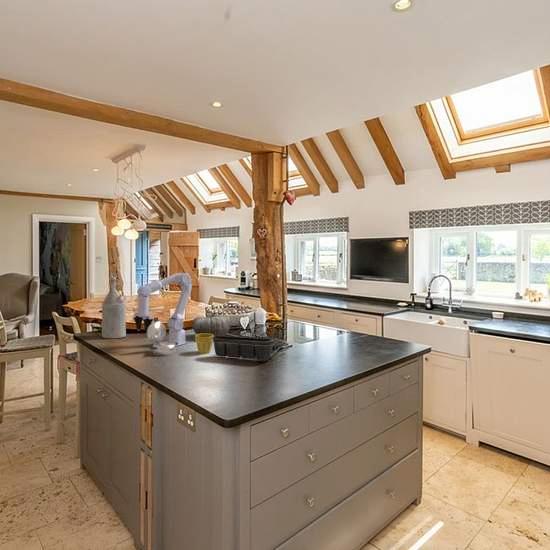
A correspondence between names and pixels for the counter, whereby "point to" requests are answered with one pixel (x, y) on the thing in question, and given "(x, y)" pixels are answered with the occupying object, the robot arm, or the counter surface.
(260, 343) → the dish rack
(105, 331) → the grey bottle
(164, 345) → the cooker pot
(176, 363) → the counter surface
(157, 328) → the cooker lid
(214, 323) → the gourd
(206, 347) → the plant pot
